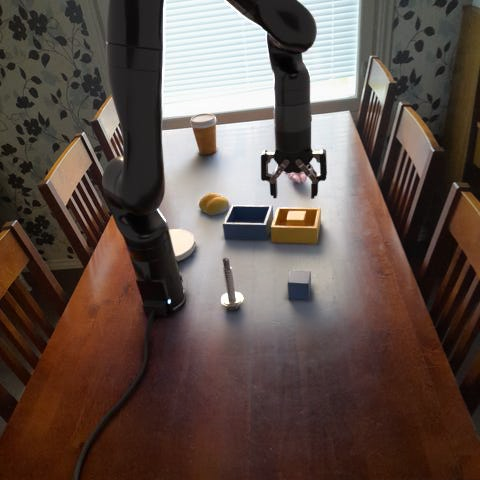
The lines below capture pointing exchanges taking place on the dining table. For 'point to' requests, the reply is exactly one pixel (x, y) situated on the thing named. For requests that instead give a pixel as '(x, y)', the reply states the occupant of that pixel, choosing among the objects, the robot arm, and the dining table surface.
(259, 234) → the blue bin
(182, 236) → the plastic lid
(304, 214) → the ochre block
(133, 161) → the robot arm
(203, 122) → the disposable coffee cup
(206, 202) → the bread roll
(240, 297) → the screw
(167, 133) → the dining table surface
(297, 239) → the ochre bin
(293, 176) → the pink flower bud
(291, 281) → the blue block
